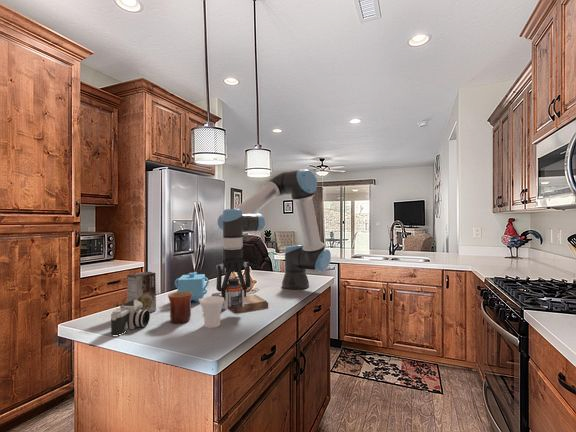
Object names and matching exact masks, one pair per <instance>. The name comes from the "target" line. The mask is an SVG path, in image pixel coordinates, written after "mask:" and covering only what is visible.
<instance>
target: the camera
mask: <svg viewBox="0 0 576 432" xmlns="http://www.w3.org/2000/svg"><path fill="white" fill-rule="evenodd" d="M142 307H143V304H142V303H141V302H139V301H138V300H132V301H129V302H123V303H121V304H120V306H119V308H116V309H115V310H112V313H110V317H111V318H110V325H111V326H110V327H111V328H110V331H111V332H110V335H111V334H112V335H119V334H122V333H124V332H125V331H127V330H129V329H133V330H135V329H136V328H140V327H141V328H145V327H146V326H148V324H149V322H150V318H151V314H150V313H151V312H150V313H149V311H148V310H146V309H145V310H142ZM135 327H136V328H135ZM129 331H130V330H129ZM127 332H128V331H127ZM124 334H125V333H124Z"/></svg>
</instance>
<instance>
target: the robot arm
mask: <svg viewBox="0 0 576 432" xmlns="http://www.w3.org/2000/svg"><path fill="white" fill-rule="evenodd" d="M317 189H318V180H317V177H316V175H315V173H314V172H313V171H311V170H309V169H296V170H289V171H284V172H280V173H278V174H277V175H275V176H274V177H271V178H270V179H269V180H268V181H266V182H265V183H264V185H263V187H262V188H261V189H259V190H258V191H257V192H254V194H252V195H251V196H250V197H248V198H247V199H246V200H244V201H242V202H241V203H240V204H239V205H238V206H237V207H235V208H229V209H228V208H225V209H224V210H223V212H222V214H221V215H219V216H218V218H217V226H218V228H219V229H220V230H222V236H223V237H222V239H223V242H222V243H223V248H224V249H223V251H222V252H223V261H222V263H220V264H216V265H215V268H216V288H215V289H216V291H218V292H221V297H223V298H224V308H225V309H227V310H229V309H228V292H227V291H226V288H227V285H228V281H229V279H230V277H231V274H232V273H236V274H237V277H238V279H239V284H241V292H242V307H243V306H244V297H246V296H247V290H248V288H250V287H251V286H252V285H251V274H250V273H251V272H250V269H251V268H250V267H251V262H249V261H245V260H244V248H243V246H244V242H243V239H244V238H243V234H244V233H250V232H254V233H255V232H259V231H260V232H261V231H262V230H263V229H264V228H265V226H266V219H265V217H264V215H263V214H261V213H258V211H260V210H262V208H264V207H265V206H266V205H267V204H269V203H270V202H271V201H272V200H273V199H274V200H275V199H278V198H279V197H280V196H283V195H291V200H293V201H295V205H296V208H297V209H296V210H297V213H298V214H297V215H298V219H299V223H300V228H301V234H302V239H303V243H304V244H298V245H290V246H288V245H287V246H286V247H285V250H284V274H283V275H284V276H283V279H282V281H281V287H282V288H284V289H288V290H304V289H307V288H309V287H310V282H309V278H308V275H307V271H306V270H311V271H316V272H324V271H326V270H327V269H328V268H329V266H330V263H331V259H332V258H331V257H332V253H331V252H330V250H329V249H327V248H325V244H324V242H322V241H321V236H320V232H319V227H318V222H317V217H316V212H315V206H314V200H313V197H314V196H315V195H316V194H315V192H317ZM243 267H244V276H243V272H242V268H243ZM224 268H225V271H224V273H225V274H224V277H223V271H222V270H223V269H224ZM222 277H223V279H222ZM222 280H223V281H222Z"/></svg>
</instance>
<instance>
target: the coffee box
mask: <svg viewBox="0 0 576 432" xmlns="http://www.w3.org/2000/svg"><path fill="white" fill-rule="evenodd" d="M126 279H127V281H126V285H127V286H126V287H127V288H126V289H127V292H126V294H127V302H129V301H132V300H138V301H139V302H141V303H142V304H143V307H142V310H145V309H146V310H148V311H149V313H153V312H156V311H157V293H156V291H157V289H156V288H157V287H156V286H157V285H156V283H157V282H156V272H152V271H148V270H147V271H141V272H136V273H131V274H130V273H129V274H127V275H126ZM127 302H126V303H127Z"/></svg>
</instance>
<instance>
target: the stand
mask: <svg viewBox="0 0 576 432" xmlns="http://www.w3.org/2000/svg"><path fill="white" fill-rule="evenodd" d="M262 308H263V309H267V308H268V309H269V302H268V301H267V300H266V299H264V298H262V297H260V296H259V295H257V294H249V295H248V294H246V297H244V306H243V307H241V308H239V309H233V311H234V312H235V313H237V314H238V313H242V312H243V313H244V312H248V311H256V309H257V310H261V309H262Z"/></svg>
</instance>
